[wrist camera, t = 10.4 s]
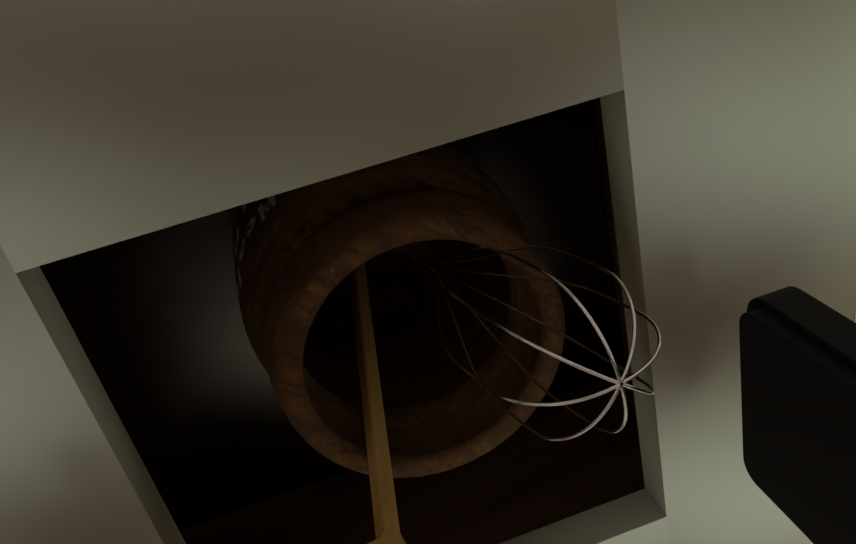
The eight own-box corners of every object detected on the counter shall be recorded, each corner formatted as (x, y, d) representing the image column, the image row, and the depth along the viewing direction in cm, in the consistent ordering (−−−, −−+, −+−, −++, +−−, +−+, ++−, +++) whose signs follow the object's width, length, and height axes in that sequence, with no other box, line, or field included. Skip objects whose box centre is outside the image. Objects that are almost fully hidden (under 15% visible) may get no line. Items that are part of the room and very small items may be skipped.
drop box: (-192, -17, 14) (-616, 37, 7) (592, -207, 16) (890, -319, 9) (144, 566, 21) (107, 882, 14) (651, 384, 23) (840, 581, 16)
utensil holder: (507, 157, 19) (892, 431, 8) (397, 361, 20) (605, 810, 10) (293, 51, 16) (454, 250, 6) (187, 292, 18) (165, 789, 7)
